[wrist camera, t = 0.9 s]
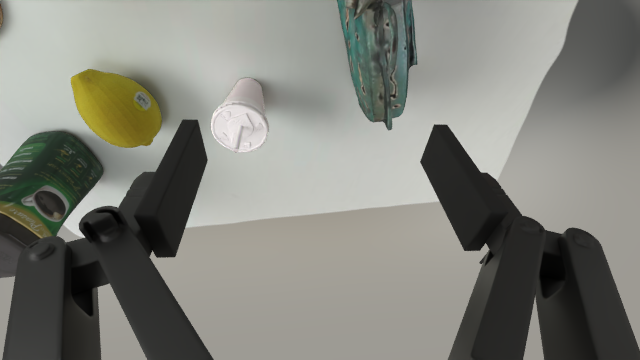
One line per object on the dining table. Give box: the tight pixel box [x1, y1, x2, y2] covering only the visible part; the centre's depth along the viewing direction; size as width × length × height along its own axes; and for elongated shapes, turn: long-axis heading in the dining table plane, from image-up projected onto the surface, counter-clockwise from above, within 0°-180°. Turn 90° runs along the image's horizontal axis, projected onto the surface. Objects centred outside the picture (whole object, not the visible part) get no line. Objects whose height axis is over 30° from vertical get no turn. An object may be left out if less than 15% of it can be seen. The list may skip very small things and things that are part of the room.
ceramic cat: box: [337, 0, 417, 130], centre depth 27 cm, size 20×6×20 cm, turn 15°
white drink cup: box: [211, 78, 269, 153], centre depth 35 cm, size 6×6×14 cm
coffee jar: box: [0, 132, 103, 278], centre depth 39 cm, size 10×8×19 cm
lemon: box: [71, 69, 162, 148], centre depth 37 cm, size 11×8×8 cm
